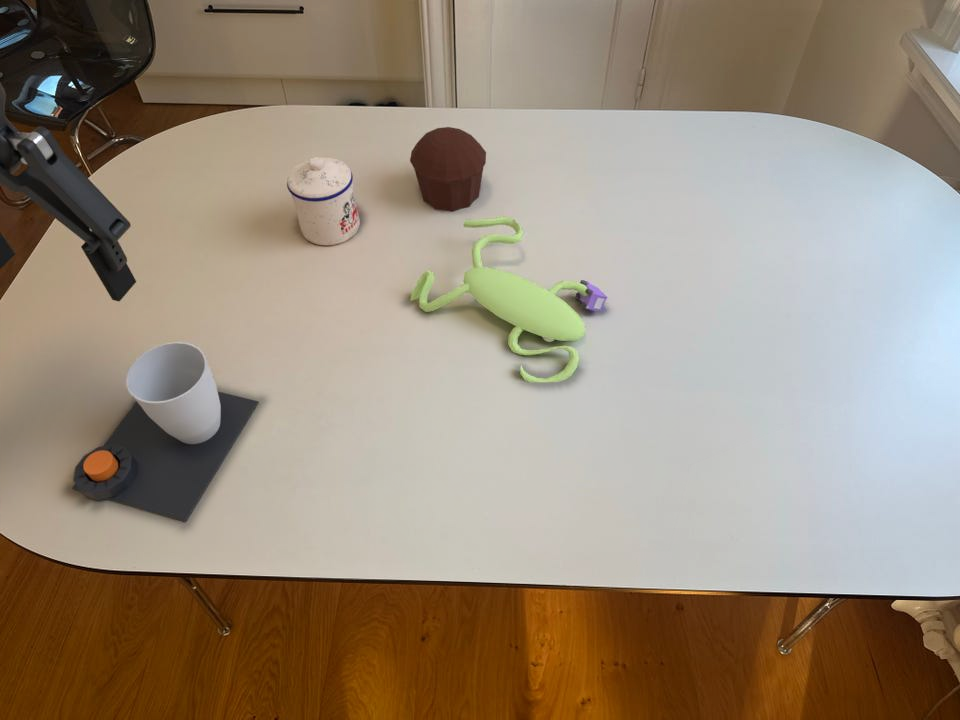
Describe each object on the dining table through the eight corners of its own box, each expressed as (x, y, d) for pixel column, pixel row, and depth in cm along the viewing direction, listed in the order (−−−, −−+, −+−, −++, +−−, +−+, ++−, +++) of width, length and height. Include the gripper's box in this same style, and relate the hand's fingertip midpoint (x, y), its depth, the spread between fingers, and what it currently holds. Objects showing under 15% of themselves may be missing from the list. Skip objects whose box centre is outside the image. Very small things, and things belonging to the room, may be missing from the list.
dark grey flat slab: (74, 498, 77) (61, 484, 74) (159, 382, 87) (150, 367, 84) (187, 530, 74) (177, 517, 72) (261, 408, 84) (254, 392, 82)
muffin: (498, 206, 107) (498, 148, 99) (430, 225, 104) (424, 168, 97) (469, 163, 114) (467, 107, 106) (404, 180, 112) (397, 124, 104)
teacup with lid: (356, 248, 102) (343, 181, 93) (294, 247, 102) (274, 180, 93) (368, 196, 109) (356, 129, 100) (310, 195, 110) (293, 129, 101)
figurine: (485, 229, 104) (485, 198, 99) (637, 316, 92) (644, 286, 88) (394, 296, 95) (389, 266, 91) (548, 402, 83) (551, 373, 79)
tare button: (83, 477, 75) (76, 470, 74) (100, 454, 77) (94, 447, 76) (107, 484, 75) (101, 477, 73) (124, 461, 76) (118, 453, 75)
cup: (174, 396, 83) (141, 341, 76) (242, 397, 83) (215, 342, 75) (152, 455, 78) (114, 402, 71) (224, 456, 78) (193, 403, 70)
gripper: (105, 60, 50) (199, 275, 67) (-170, 16, 55) (-19, 227, 71) (35, 117, 46) (155, 332, 62) (-258, 64, 50) (-75, 277, 67)
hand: (62, 276), depth 67 cm, fingers open, 13 cm apart
